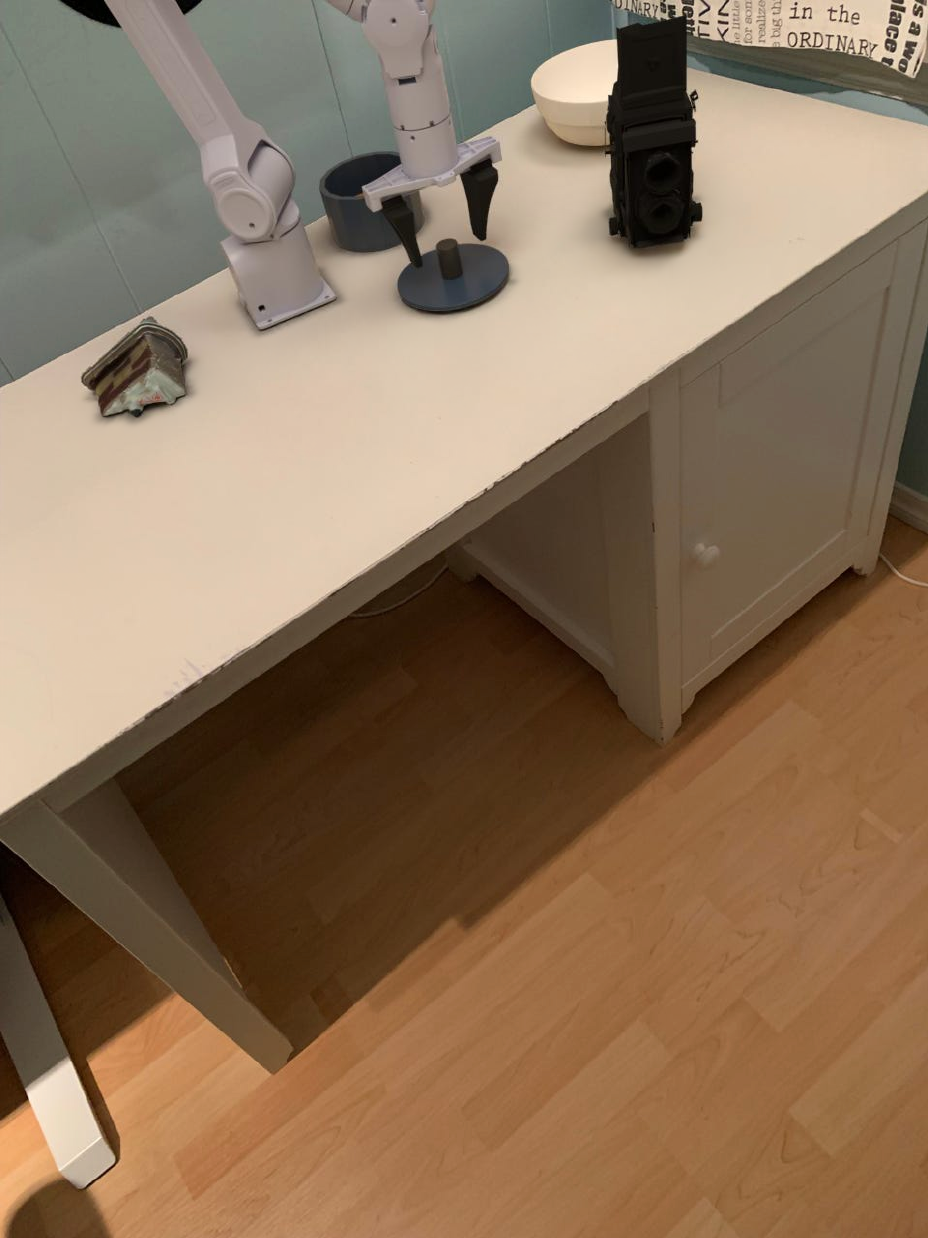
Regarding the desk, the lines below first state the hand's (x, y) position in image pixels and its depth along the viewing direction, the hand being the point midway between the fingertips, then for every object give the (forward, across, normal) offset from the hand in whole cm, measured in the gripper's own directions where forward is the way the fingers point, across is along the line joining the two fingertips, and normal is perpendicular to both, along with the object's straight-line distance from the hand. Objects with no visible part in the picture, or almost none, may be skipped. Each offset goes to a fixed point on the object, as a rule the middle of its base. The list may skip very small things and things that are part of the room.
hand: (448, 250), depth 94 cm
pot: (+4, -2, +18) cm, 19 cm away
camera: (+4, +22, -6) cm, 23 cm away
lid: (+3, 0, 0) cm, 3 cm away
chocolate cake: (+4, -36, +3) cm, 36 cm away
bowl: (+4, +31, +19) cm, 37 cm away
